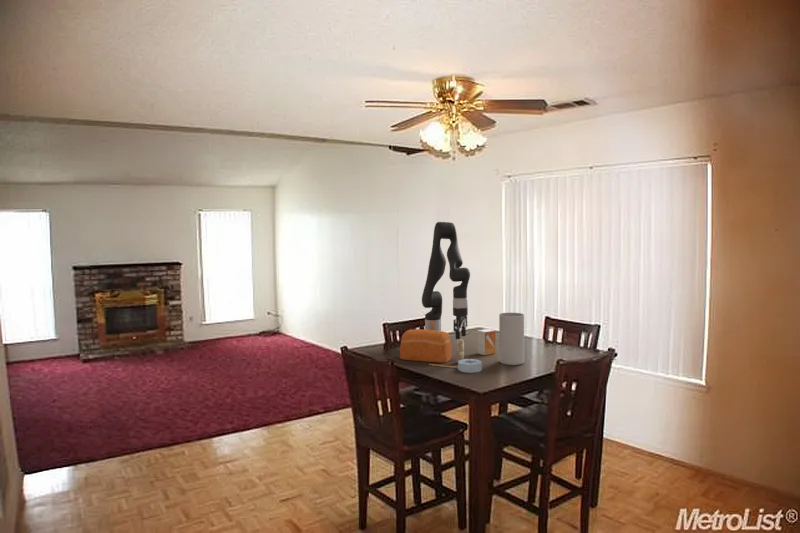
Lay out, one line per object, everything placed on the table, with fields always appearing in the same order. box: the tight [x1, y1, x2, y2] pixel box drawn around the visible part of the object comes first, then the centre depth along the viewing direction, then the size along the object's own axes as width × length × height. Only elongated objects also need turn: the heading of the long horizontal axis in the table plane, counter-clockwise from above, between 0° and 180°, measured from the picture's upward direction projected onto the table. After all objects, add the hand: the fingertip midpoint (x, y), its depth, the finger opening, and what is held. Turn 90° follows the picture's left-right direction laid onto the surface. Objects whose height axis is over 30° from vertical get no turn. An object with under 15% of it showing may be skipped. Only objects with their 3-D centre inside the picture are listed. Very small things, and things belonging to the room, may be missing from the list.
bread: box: [399, 328, 452, 364], centre depth 293 cm, size 14×26×16 cm, turn 67°
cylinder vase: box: [498, 312, 525, 366], centre depth 282 cm, size 12×12×25 cm
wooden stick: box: [428, 363, 458, 369], centre depth 276 cm, size 17×1×1 cm, turn 63°
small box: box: [476, 328, 496, 356], centre depth 303 cm, size 8×6×13 cm
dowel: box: [456, 338, 465, 364], centre depth 283 cm, size 4×4×12 cm
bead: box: [457, 358, 483, 374], centre depth 270 cm, size 11×11×4 cm
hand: (460, 337), depth 283 cm, fingers open, 8 cm apart
